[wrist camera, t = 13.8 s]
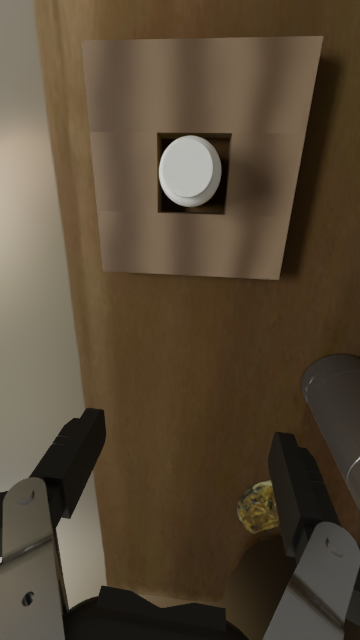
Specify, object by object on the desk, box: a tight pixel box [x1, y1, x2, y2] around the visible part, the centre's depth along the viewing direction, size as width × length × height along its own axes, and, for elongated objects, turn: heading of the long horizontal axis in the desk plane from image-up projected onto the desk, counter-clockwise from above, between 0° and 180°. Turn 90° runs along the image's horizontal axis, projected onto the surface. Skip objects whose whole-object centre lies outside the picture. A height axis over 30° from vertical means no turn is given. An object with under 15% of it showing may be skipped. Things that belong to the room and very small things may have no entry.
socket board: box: [81, 36, 323, 280], centre depth 28 cm, size 20×20×3 cm
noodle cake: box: [237, 480, 280, 533], centre depth 49 cm, size 9×5×15 cm
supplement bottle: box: [159, 135, 221, 207], centre depth 25 cm, size 5×5×10 cm
